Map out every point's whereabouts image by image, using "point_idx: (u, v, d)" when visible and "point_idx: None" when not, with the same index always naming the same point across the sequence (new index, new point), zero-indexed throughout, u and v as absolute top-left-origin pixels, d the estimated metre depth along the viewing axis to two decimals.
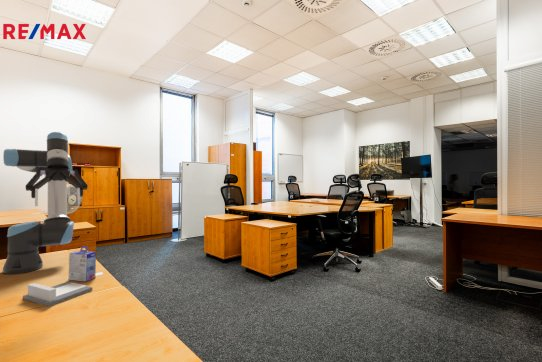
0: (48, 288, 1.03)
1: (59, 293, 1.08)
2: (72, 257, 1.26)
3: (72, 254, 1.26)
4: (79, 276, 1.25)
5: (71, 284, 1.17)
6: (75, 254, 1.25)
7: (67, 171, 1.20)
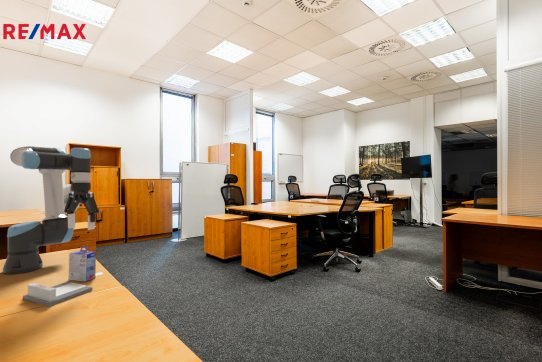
0: (48, 288, 1.03)
1: (59, 293, 1.08)
2: (72, 257, 1.26)
3: (72, 254, 1.26)
4: (79, 276, 1.25)
5: (71, 284, 1.17)
6: (75, 254, 1.25)
7: (83, 195, 1.25)
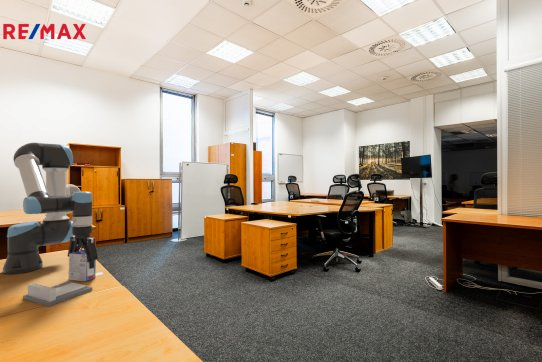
0: (48, 288, 1.03)
1: (59, 293, 1.08)
2: (72, 257, 1.26)
3: (72, 254, 1.26)
4: (79, 276, 1.25)
5: (71, 284, 1.17)
6: (75, 254, 1.25)
7: (84, 239, 1.25)
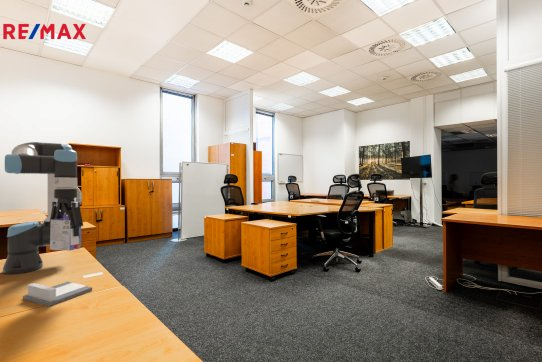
0: (48, 288, 1.03)
1: (59, 293, 1.08)
2: (54, 224, 1.11)
3: (54, 220, 1.11)
4: (62, 245, 1.10)
5: (71, 284, 1.17)
6: (57, 220, 1.10)
7: (68, 203, 1.10)
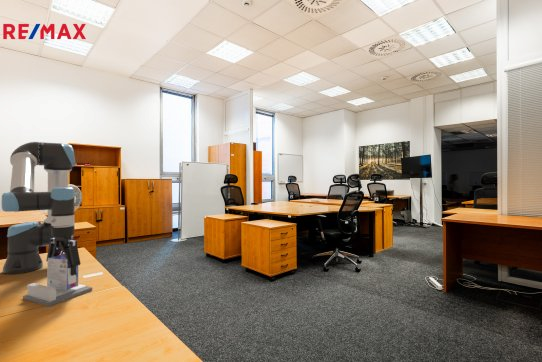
0: (48, 288, 1.03)
1: (59, 293, 1.08)
2: (51, 262, 1.10)
3: (51, 259, 1.10)
4: (59, 284, 1.09)
5: None
6: (54, 259, 1.09)
7: (65, 242, 1.09)
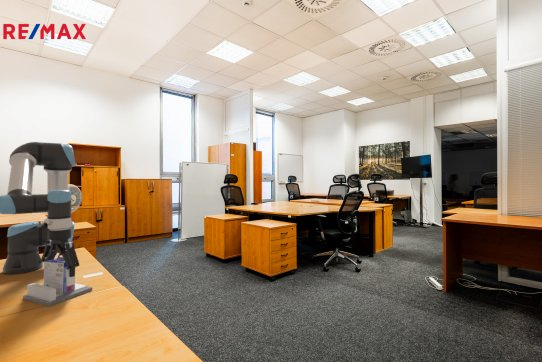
0: (48, 288, 1.03)
1: None
2: (48, 266, 1.09)
3: (47, 262, 1.09)
4: (55, 288, 1.08)
5: None
6: (51, 262, 1.08)
7: (61, 245, 1.08)
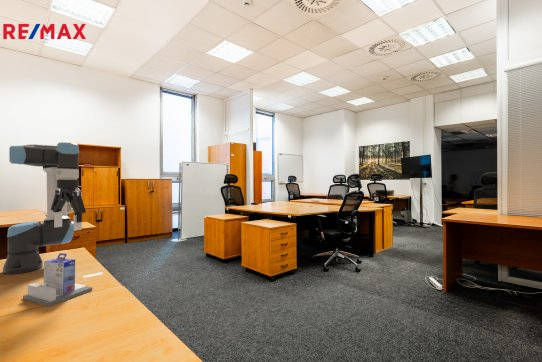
0: (48, 288, 1.03)
1: None
2: (48, 266, 1.09)
3: (47, 262, 1.09)
4: (55, 288, 1.08)
5: None
6: (51, 262, 1.08)
7: (69, 193, 1.17)
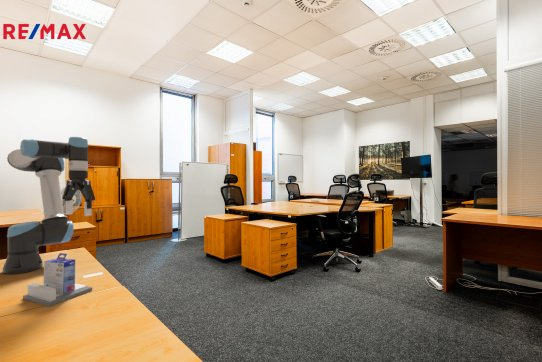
0: (48, 288, 1.03)
1: None
2: (48, 266, 1.09)
3: (47, 262, 1.09)
4: (55, 288, 1.08)
5: None
6: (51, 262, 1.08)
7: (80, 182, 1.29)
